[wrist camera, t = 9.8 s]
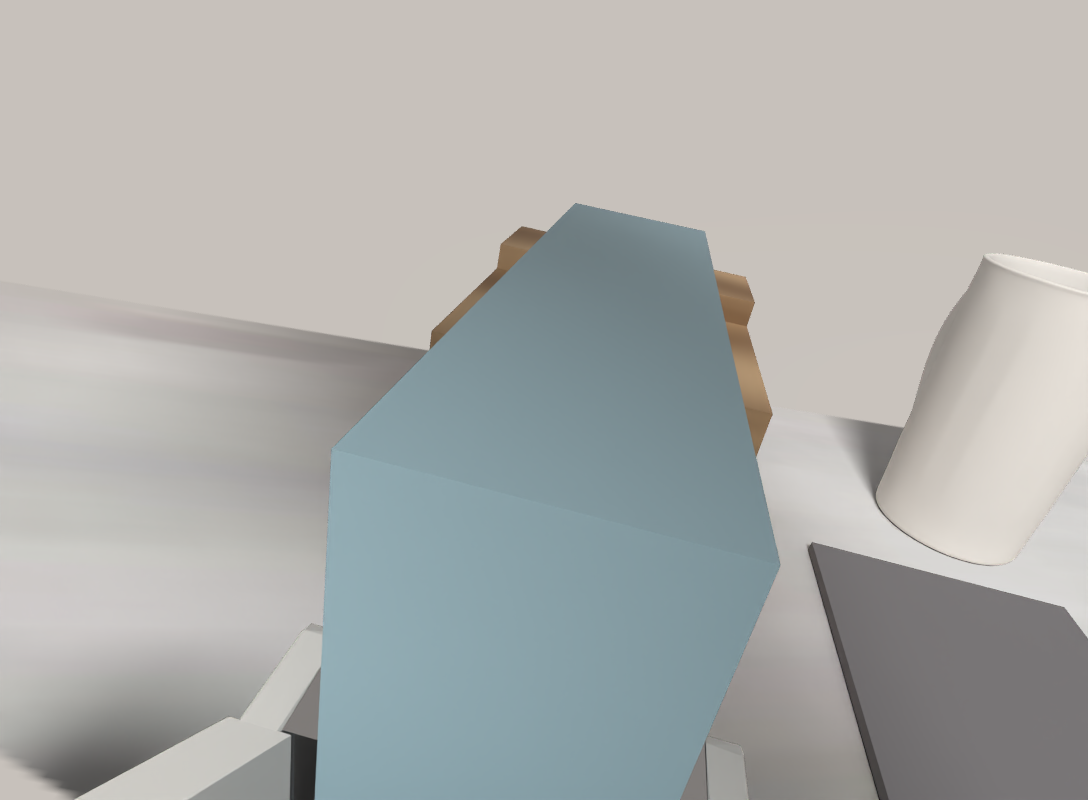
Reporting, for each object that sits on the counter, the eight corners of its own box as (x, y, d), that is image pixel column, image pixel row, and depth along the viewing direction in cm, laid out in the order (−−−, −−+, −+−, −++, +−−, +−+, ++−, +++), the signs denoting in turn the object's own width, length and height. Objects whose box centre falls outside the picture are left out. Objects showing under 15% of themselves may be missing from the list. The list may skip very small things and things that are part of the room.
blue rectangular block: (497, 1225, 9) (779, 565, 4) (297, 1155, 10) (332, 447, 4) (592, 624, 20) (705, 231, 15) (497, 598, 20) (575, 203, 15)
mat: (1398, 1078, 14) (1413, 1071, 14) (918, 932, 15) (925, 923, 15) (1059, 614, 27) (1064, 607, 26) (808, 549, 27) (811, 542, 27)
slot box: (694, 619, 22) (784, 382, 18) (407, 541, 23) (435, 299, 19) (688, 450, 33) (745, 277, 29) (492, 400, 34) (521, 226, 30)
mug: (1056, 585, 28) (1235, 324, 23) (903, 555, 28) (1048, 286, 23) (945, 462, 37) (1055, 255, 32) (829, 440, 37) (921, 228, 32)
